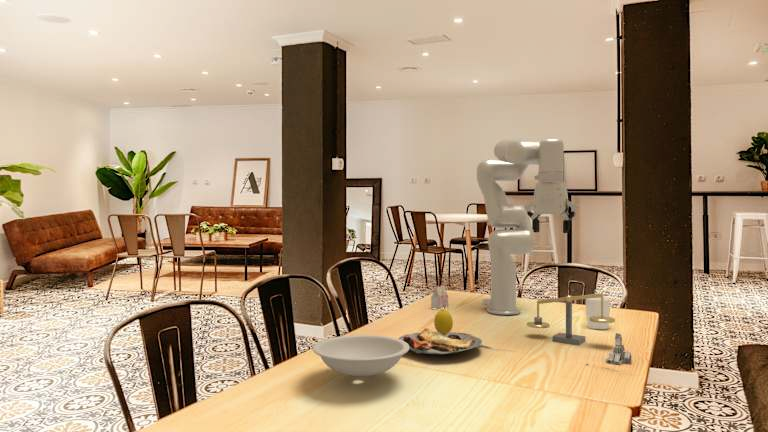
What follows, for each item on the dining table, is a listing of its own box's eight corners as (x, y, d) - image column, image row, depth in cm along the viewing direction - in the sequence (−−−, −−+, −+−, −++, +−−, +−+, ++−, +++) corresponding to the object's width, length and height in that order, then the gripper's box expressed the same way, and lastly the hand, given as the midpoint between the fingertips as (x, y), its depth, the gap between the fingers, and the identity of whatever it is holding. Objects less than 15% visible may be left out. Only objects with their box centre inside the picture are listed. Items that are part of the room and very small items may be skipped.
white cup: (605, 325, 184) (606, 296, 184) (613, 330, 176) (613, 300, 176) (582, 324, 185) (582, 296, 185) (589, 329, 177) (589, 300, 177)
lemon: (454, 332, 161) (452, 306, 161) (453, 337, 156) (451, 311, 155) (436, 333, 162) (434, 307, 162) (434, 338, 157) (432, 311, 157)
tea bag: (431, 312, 208) (431, 287, 208) (440, 309, 214) (440, 285, 214) (439, 313, 206) (439, 287, 206) (448, 310, 212) (448, 285, 211)
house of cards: (637, 371, 132) (637, 341, 132) (602, 365, 138) (602, 335, 138) (649, 364, 138) (649, 335, 138) (615, 358, 144) (615, 330, 144)
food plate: (381, 348, 157) (381, 336, 157) (429, 334, 174) (429, 323, 174) (449, 364, 140) (449, 351, 140) (496, 347, 157) (496, 336, 157)
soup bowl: (375, 395, 115) (375, 365, 115) (292, 377, 128) (292, 350, 128) (426, 367, 135) (426, 341, 135) (350, 354, 148) (350, 330, 148)
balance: (523, 336, 167) (523, 287, 167) (532, 332, 173) (532, 285, 173) (611, 350, 151) (611, 296, 151) (618, 345, 156) (618, 293, 156)
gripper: (520, 179, 170) (520, 232, 170) (574, 176, 159) (573, 233, 159) (530, 180, 176) (530, 231, 176) (582, 177, 165) (582, 232, 165)
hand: (550, 232), depth 167 cm, fingers open, 9 cm apart
